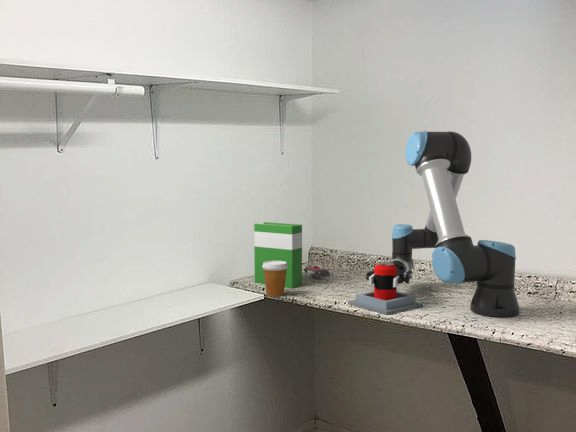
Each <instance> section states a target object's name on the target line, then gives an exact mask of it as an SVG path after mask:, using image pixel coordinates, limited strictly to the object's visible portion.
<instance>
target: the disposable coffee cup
mask: <svg viewBox="0 0 576 432" xmlns="http://www.w3.org/2000/svg"><path fill="white" fill-rule="evenodd" d="M262 267H263V270H264V278H265V285H264V286H265V293H266V296H268V297H275V298H277V297H283V296H284V294H285V279H286V271H287V267H288V265H287V262H285V261H266V262H264V263H263V266H262Z"/></svg>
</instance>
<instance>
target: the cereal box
mask: <svg viewBox="0 0 576 432" xmlns="http://www.w3.org/2000/svg"><path fill="white" fill-rule="evenodd" d="M253 225H254V226H253V227H254V228H253V229H254V230H253V232H254V233H253V235H254V236H253V237H254V239H253V240H254V241H253V242H254V243H253V244H254V246H253V247H254V251H253V252H254V284H255V283H261V284H260V285H263V284H265V278H264V270H263V267H262V266H263V263H264V262H266V261H285V262H287V265H288V267H287V271H286V279H285V287H286V289H295V288H297V287H301V286H302V285H303V224H298V223H297V224H296V223H282V222H281V223H280V222H270V221H269V222H266V221H264V222H263V224H262V223H254V224H253Z"/></svg>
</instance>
